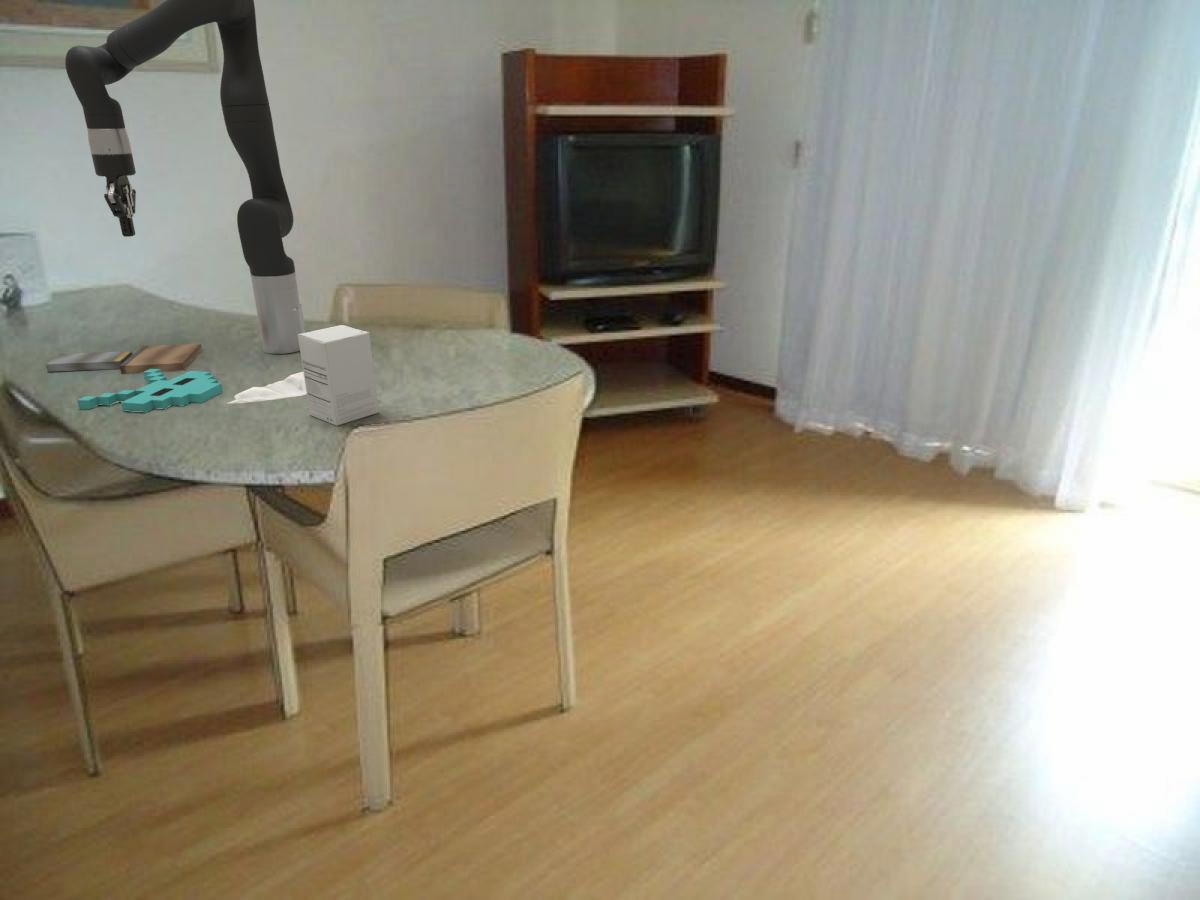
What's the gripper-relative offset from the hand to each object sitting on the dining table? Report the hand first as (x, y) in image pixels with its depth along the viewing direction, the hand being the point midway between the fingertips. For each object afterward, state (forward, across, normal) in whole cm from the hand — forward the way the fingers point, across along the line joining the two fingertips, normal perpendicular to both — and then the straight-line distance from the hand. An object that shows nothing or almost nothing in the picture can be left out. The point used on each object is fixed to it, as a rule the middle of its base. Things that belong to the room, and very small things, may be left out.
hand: (129, 235), depth 180 cm
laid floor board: (+25, -14, -6) cm, 29 cm away
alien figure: (+26, -38, -12) cm, 47 cm away
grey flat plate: (+25, -14, +8) cm, 30 cm away
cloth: (+26, -38, -35) cm, 57 cm away
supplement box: (+25, -56, -47) cm, 77 cm away
